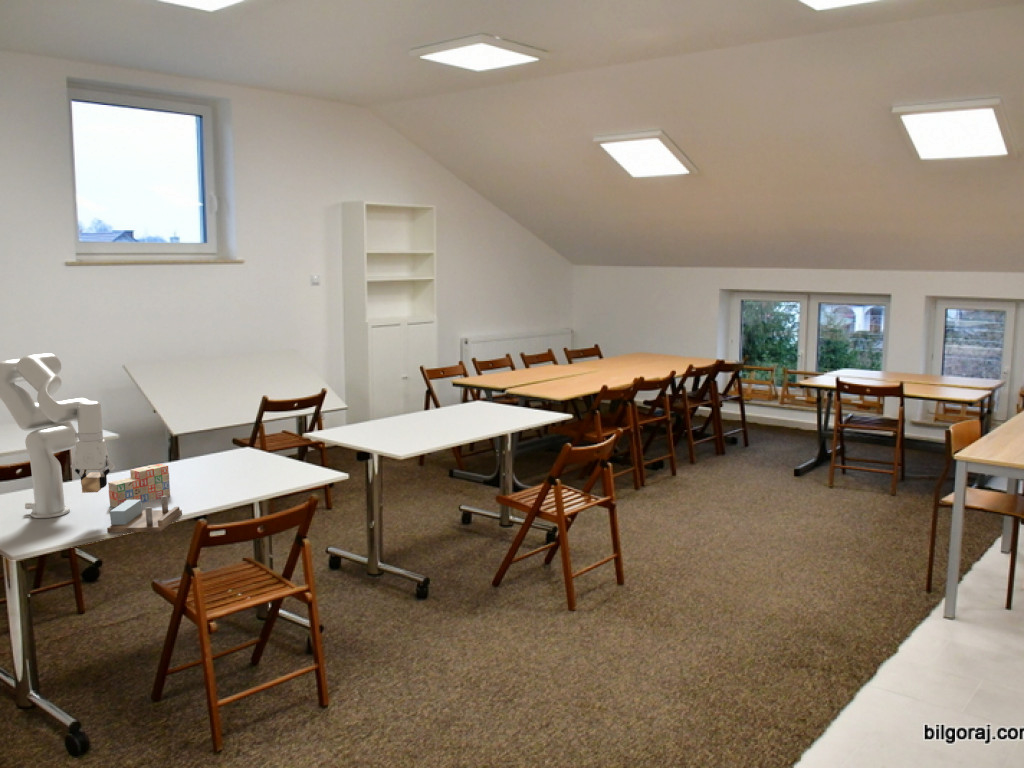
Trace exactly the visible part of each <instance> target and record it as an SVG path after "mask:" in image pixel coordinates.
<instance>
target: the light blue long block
mask: <svg viewBox="0 0 1024 768" xmlns="http://www.w3.org/2000/svg"><path fill="white" fill-rule="evenodd" d="M142 505H143V502H141V500H126V501H125V502H123V503H122V504H120V505H119V506H117V507H114V508H112V509H111V510H110V511H109V516H110V526H111V525H126V524H127V523H128V522H130V521H131V520H133V519H134V518H135V517H137V516H138V515H139V514H141V513H142V511H143V506H142Z"/></svg>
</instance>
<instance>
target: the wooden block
mask: <svg viewBox="0 0 1024 768" xmlns="http://www.w3.org/2000/svg"><path fill="white" fill-rule="evenodd" d="M86 475H87V476H86V477H84V478H83V479H82V480H81V479H80V483H81V482H82V485H81V493H82V494H83V493H84V494H85V493H90V494H91V493H99V492H100V491H101V490H102V489H103V488H100V477H101V475H100V472H99V471H96V472H95V471H92V472H91V471H90V472H89V473H88V474H86Z"/></svg>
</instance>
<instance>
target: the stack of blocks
mask: <svg viewBox="0 0 1024 768" xmlns="http://www.w3.org/2000/svg"><path fill="white" fill-rule="evenodd" d="M129 471H130V472H129V473H130V477H126V478H122V479H118V480H112V481H109V482H108V481H107V484H108V498H109V506H110V507H114V508H116V507H117V506H119V505H120V504H122V503H123V502H125V501H126V500H141V502H142V503H145V502H149V501H153V500H157V499H161V496H167V497H170V496H171V487H170V472H169V465H166V464H163V463H156V464H150V465H145V466H141V467H137V468H133V469H130V470H129Z"/></svg>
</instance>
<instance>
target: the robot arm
mask: <svg viewBox="0 0 1024 768" xmlns="http://www.w3.org/2000/svg"><path fill="white" fill-rule="evenodd" d="M61 370H62V362H61V359H59V358H58V356H57V355H55V354H53V353H49V352H47V353H38V354H31V355H25V356H23V357H20V358H14V359H5V360H0V400H1V401H2V403H4V405H5V406H6V408H7V410H8V412H9V413H10V415H11V416H12V418H13V420H14V422H15V423H16V424H17V426H18V427H19V428H20V429H21V430H22V431H25V432H30V433H28V434H27V435H26V437H25V439H24V440H25V441H24V442H25V448H26V451H27V454H28V458H29V462H30V470H31V480H32V489H33V499H34V502H25V504H24V509H25V510H32V511H30V516H31V517H32V518H33V519H49V518H55V517H60V516H63V515H67V514H68V513H69V512H70V510H71V507H70V506H67V505H66V504H65V496H64V495H65V494H64V484H63V474H62V473H63V471H62V465H61V462H60V461H59V460H58V458H57V457H56V456H55V455H54V454H56V453H60V452H64V451H68V450H72V449H74V448H75V449H74V450H75V451H74V461H73V462H72V463H71V465H70V468H71V469H72V470H73V471H74V472H75V473H76V474H77V475H78V477H80V484H81V486H82V482H81V480H82V479H83V478H84V477H86V476H87V475H88V474H87V472H88V471H94V470H95V471H98V472H100V475H101V477H100V488H102V489H104V488H105V487H106V486H107V484H108V479H107V476H108V474H109V473H110V472H111V471H113V470H114V469H115V468H116V464H114V463H113V462H112V461H111V459H110V457H109V451H108V447H107V442H106V440H105V439H104V435H103V432H104V431H103V419H102V406H101V403H100V402H99V401H97V400H90V399H88V398H85V397H78V398H70V399H65V400H59V401H57V400H55V399H54V397H52V396H54V395H55V394H56V393H57V392H58V391H59V390H60V389H61V387H62V379H61V377H60V376H59V375H58V374H60V372H61ZM20 382H26V383H28V384H29V385H30V386H31V387H32V388H33V389H34V390H35V391H36V392H37V397H36V399H37V400H36V401H37V402H36V401H34V400H33V397H32V396H31V395H30V394H29V392H28V391H27V390H26V389H24V388H22V387H21V386H20V385H17V384H16V383H20ZM74 421H77V429H78V432H77V430H76V428H75V426H74V425H73V424H72V422H74ZM106 467H107V468H106Z"/></svg>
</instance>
